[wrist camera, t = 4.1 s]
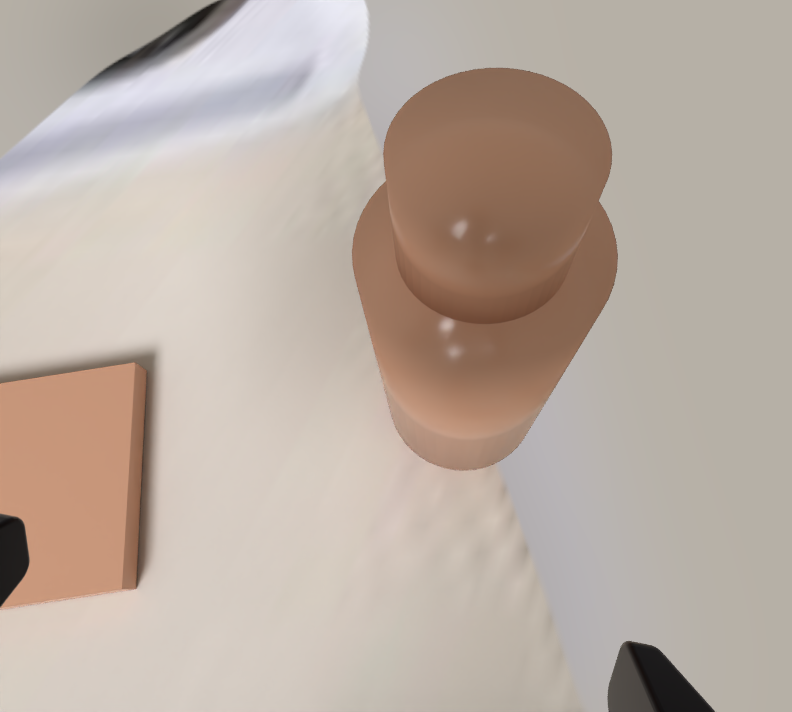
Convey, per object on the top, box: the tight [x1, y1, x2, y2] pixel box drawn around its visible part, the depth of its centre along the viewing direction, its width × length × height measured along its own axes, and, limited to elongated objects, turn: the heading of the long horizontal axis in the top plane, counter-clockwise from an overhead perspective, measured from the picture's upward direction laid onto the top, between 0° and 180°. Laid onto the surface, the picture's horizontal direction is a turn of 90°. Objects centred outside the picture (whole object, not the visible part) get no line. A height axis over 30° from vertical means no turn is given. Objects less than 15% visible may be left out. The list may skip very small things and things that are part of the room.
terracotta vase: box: [352, 68, 618, 470], centre depth 16 cm, size 6×6×14 cm
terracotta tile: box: [0, 362, 147, 610], centre depth 22 cm, size 9×9×1 cm
